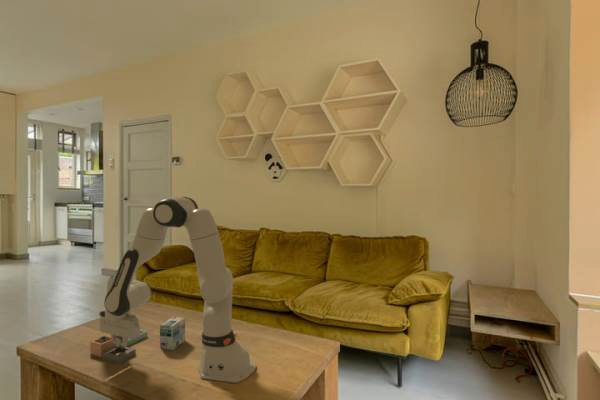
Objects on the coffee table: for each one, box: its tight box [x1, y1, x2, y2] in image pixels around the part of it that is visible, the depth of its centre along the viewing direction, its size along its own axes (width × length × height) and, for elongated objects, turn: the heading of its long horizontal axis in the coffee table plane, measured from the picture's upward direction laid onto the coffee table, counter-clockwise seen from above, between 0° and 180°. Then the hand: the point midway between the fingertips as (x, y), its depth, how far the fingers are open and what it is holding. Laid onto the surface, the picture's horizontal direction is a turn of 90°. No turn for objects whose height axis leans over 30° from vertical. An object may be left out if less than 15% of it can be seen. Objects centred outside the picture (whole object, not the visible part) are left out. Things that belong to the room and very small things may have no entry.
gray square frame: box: [101, 346, 137, 364], centre depth 139 cm, size 10×8×3 cm
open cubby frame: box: [89, 335, 116, 358], centre depth 143 cm, size 7×7×6 cm
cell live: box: [115, 336, 125, 353], centre depth 139 cm, size 3×3×6 cm
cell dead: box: [99, 335, 108, 343], centre depth 143 cm, size 3×3×6 cm
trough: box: [125, 329, 148, 347], centre depth 154 cm, size 8×14×3 cm, turn 157°
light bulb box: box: [159, 316, 186, 351], centre depth 152 cm, size 11×7×11 cm, turn 168°
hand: (120, 345), depth 139 cm, fingers closed on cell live, 3 cm apart
